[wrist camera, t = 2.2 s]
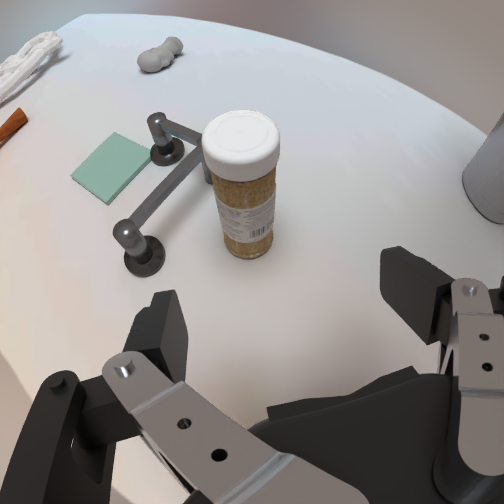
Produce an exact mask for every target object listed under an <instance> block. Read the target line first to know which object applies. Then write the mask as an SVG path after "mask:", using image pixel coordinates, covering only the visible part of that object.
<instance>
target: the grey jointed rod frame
mask: <svg viewBox="0 0 504 504" xmlns="http://www.w3.org/2000/svg"><path fill="white" fill-rule="evenodd" d="M147 123H148V126H149V129H150V131H151V134H152V137H153V139H154V142H155V144H154V145H153V146H152V148H151V150H150V156H151V159H152V161H153V162H154V163H155V164H156V165H159V166H168V165H171V164H174V163H176V162H177V161H179V160H180V159H181V158H182V156H183V155H184V151H185V149H184V145H183V142H182V141H181V140H180V139H182V140H184V141H187V142H189V143H191V144H193V145H195V146H197V147H196V148H195V149H194V150H193V151H192V152H191V153H190V154H189V155H188V156H187V157H186V158H185V159H184V160H183V161H182V162H181V163H180V164H179V165H178V166H177V167H176V168H175V169H174V170H173V171H172V172H171V173H170V174H169V175H168V176H167V177H166V178H165V179H164V180H163V181H162V182H161V183H160V184H159V185H158V186H157V187H156V189H155V190H154V191H153V192H152V193H151V194H150V195H149V196H148V197H147V198H146V199H145V200H144V202H143V203H142V204H141V205H140V206H139V207H138V208H137V209H136V210H135V212H134V213H133V214H132V215H131V216H130V217H129V218H128V219H123V220H121V221H119V222H118V223H117V224H116V225H115V227H114V229H113V236H114V238H115V239H116V240H117V241H118V242H119V244H120V245H121V246H122V247H123V248H124V249H125V254H124V262H125V265H126V267H127V269H128V270H129V271H130V272H131V273H132V274H134V275H136V276H138V277H148V276H151V275H153V274H155V273H156V272H157V271H158V270H159V269H160V268H161V267H162V265H163V263H164V260H165V250H164V247H163V246H162V244H161V242H160V241H159V240H158V239H157V238H155V237H153V236H143V235H142V234H141V232H140V231H139V228H140V227H141V226H142V225H143V224H144V223H145V222H146V220H147V219H148V218H149V217H150V216H151V215H152V214H153V212H154V211H155V210H156V209H157V208H158V207H159V206H160V205H161V203H162V202H163V201H164V200H165V199H166V198H167V197H168V196H169V195H170V194H171V192H172V191H173V190H174V189H175V188H176V187H177V186H178V185H179V184H180V183H181V182H182V181H183V180H184V179H185V178H186V176H187V175H188V174H189V173H190V172H191V171H192V170H193V169H194V168H195V167H196V166H197V165H198V164H199V163H200V162H202V166H203V170H204V175H205V179H206V181H207V182H208V183H209V184H213V181H212V176H211V172H210V169H209V168H208V166H207V164H206V162H205V158H204V153H203V148H202V134H200V133H198V132H196V131H194V130H191V129H189V128H187V127H184V126H182V125H179V124H177V123H175V122H172V121H170V120H167V119H166V116H165V114H164V113H162V112H157V113H154V114H152V115H150V116H149V117H148V119H147ZM171 135H173V136H176V137H178V138H180V139H178V138H175V137H172V136H171ZM152 153H153V154H152Z"/></svg>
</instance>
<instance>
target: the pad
mask: <svg viewBox="0 0 504 504" xmlns="http://www.w3.org/2000/svg"><path fill="white" fill-rule="evenodd" d="M152 154H153V153H152ZM151 160H152V159H151V156H150V149H148V148H146V147H144V146H142V145H140V144H138V143H136V142H134V141H132V140H130V139H128V138H126V137H124V136H122V135H120V134H117V133H115V132H114V133H113V134H112V135H111V136H109V137H108V138H107V139H106V140H105V141H104V142H103V143H102V144H101V145H100V146H99V147H98V148H97V149H96V150H95V151H94V152H93V153H92V154H91V155H90V156H89V157H88V158H87V159H86V160H85V161H84V162H83V163H82V164H81V165H80V166H79V167H78V168H77V169H76V170H75V171H74V172H73V173H72V174H71V175H70V176H71V177H72V178H73V179H74V180H75V181H77V182H78V183H79V184H81V185H82V186H83V187H85V188H86V189H87V190H89V191H90V192H91V193H93V194H94V195H95V196H97V197H98V198H99V199H101V200H102V201H103V202H105V203H106V204H107V205H109V204H110V203H111V202H112V201H113V200H114V198H115V197H116V196H117V195H118V194H119V193H120V192H121V191H122V190H123V189H124V188H125V187H126V185H127V184H128V183H129V182H130V181H131V180H132V179H133V178H134V177H135V176H136V175H137V174H138V173H139V172H140V171H141V170H142V169H143V168H144V167H145V166H146V165H147V164H148V163H149V162H150V161H151Z"/></svg>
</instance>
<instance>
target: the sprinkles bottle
mask: <svg viewBox="0 0 504 504" xmlns="http://www.w3.org/2000/svg"><path fill="white" fill-rule="evenodd" d="M202 148H203V153H204V158H205V162H206V164H207V166H208V168H209V169H210V172H211V176H212V181H213V189H214V194H215V198H216V203H217V207H218V212H219V216H220V221H221V225H222V228H223V231H224V242H225V244H226V246H227V248H228V249H229V251H230V252H231V253H232V254H234V255H235V256H238V257H240V258H245V259H248V258H250V259H251V258H256V257H258V256H260V255H262V254H264V253H265V252H266V251H267V250H268V249H269V247H270V246H271V243H272V240H273V232H272V227H273V223H274V210H275V196H276V183H275V176H276V165H277V162H278V159H279V155H280V133H279V129H278V127H277V126H276V124H275V123H274V122H273V121H272V120H271V119H270V118H269V117H267V116H266V115H264V114H261V113H259V112H255V111H249V110H237V111H231V112H227V113H224V114H222V115H220V116H218V117H216V118H214V119H213V120H212V121H211V122H210V123H209V124H208V125H207V126H206V128H205V129H204V131H203V134H202Z"/></svg>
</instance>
